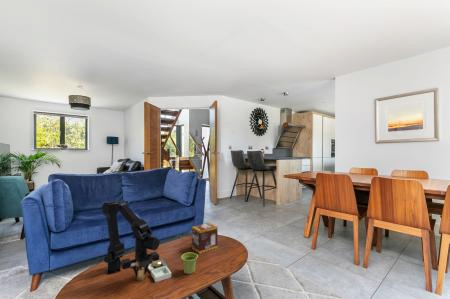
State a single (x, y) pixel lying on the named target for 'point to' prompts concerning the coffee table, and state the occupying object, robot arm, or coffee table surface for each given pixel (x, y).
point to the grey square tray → (158, 267)
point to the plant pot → (189, 262)
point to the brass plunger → (157, 263)
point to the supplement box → (204, 237)
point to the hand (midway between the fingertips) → (140, 275)
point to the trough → (160, 273)
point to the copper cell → (140, 273)
